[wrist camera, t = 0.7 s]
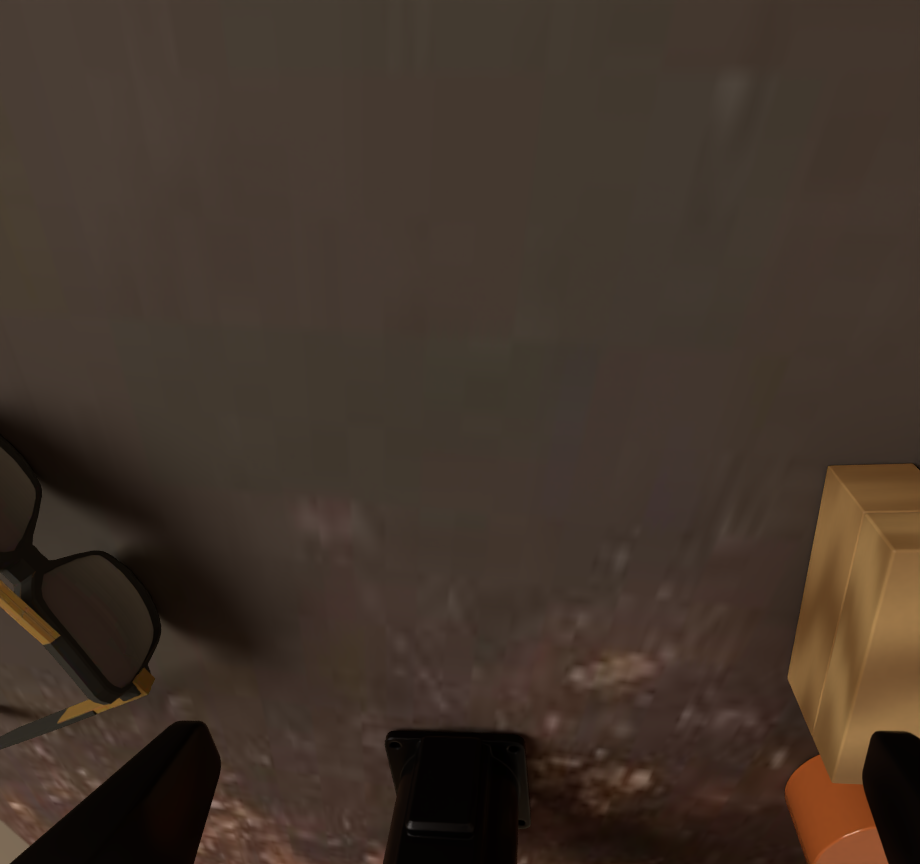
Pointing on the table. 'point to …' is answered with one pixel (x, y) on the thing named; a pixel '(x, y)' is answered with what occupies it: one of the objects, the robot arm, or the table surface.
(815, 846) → the orange cylinder puck
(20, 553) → the sunglasses
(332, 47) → the table surface
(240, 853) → the table surface
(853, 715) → the maple stand
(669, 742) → the table surface
